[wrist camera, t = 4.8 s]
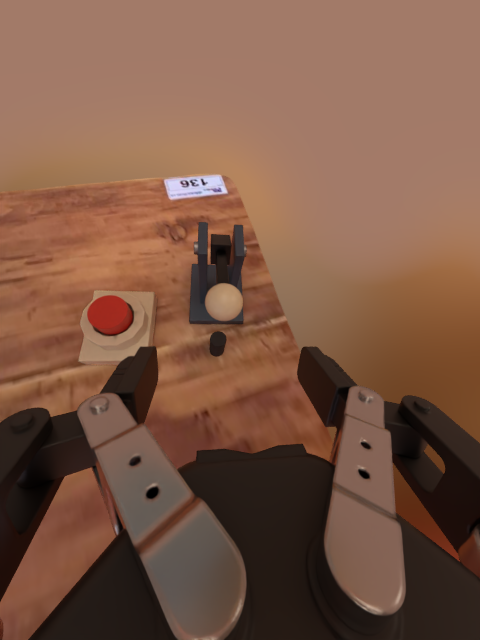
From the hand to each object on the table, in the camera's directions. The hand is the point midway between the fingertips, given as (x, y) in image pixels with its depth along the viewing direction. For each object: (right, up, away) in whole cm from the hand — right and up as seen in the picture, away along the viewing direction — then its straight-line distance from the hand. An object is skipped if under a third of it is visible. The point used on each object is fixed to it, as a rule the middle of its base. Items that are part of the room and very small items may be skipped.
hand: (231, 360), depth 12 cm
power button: (-15, +2, +16) cm, 22 cm away
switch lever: (-1, +6, +11) cm, 13 cm away
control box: (-16, +1, +20) cm, 25 cm away
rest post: (-3, -2, +21) cm, 21 cm away
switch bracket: (-3, +6, +24) cm, 25 cm away
